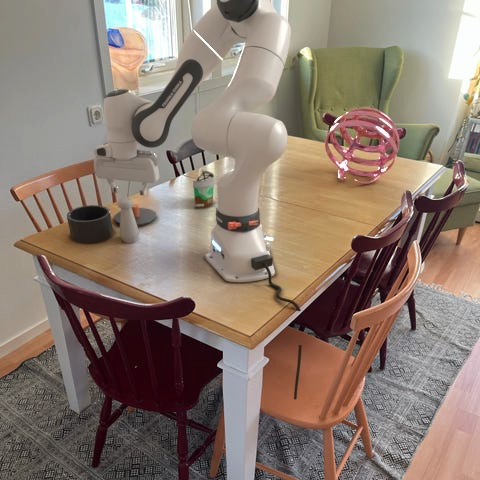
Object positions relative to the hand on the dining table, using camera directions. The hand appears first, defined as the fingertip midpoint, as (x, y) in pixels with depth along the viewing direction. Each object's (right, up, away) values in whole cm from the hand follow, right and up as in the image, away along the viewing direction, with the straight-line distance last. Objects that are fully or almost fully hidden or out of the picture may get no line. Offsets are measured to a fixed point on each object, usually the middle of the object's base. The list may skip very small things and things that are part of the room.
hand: (129, 193), depth 152 cm
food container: (+24, +1, +18) cm, 29 cm away
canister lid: (+1, -6, +6) cm, 9 cm away
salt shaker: (+2, -16, -6) cm, 17 cm away
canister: (-11, -14, -3) cm, 18 cm away
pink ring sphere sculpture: (+83, +17, +41) cm, 94 cm away
